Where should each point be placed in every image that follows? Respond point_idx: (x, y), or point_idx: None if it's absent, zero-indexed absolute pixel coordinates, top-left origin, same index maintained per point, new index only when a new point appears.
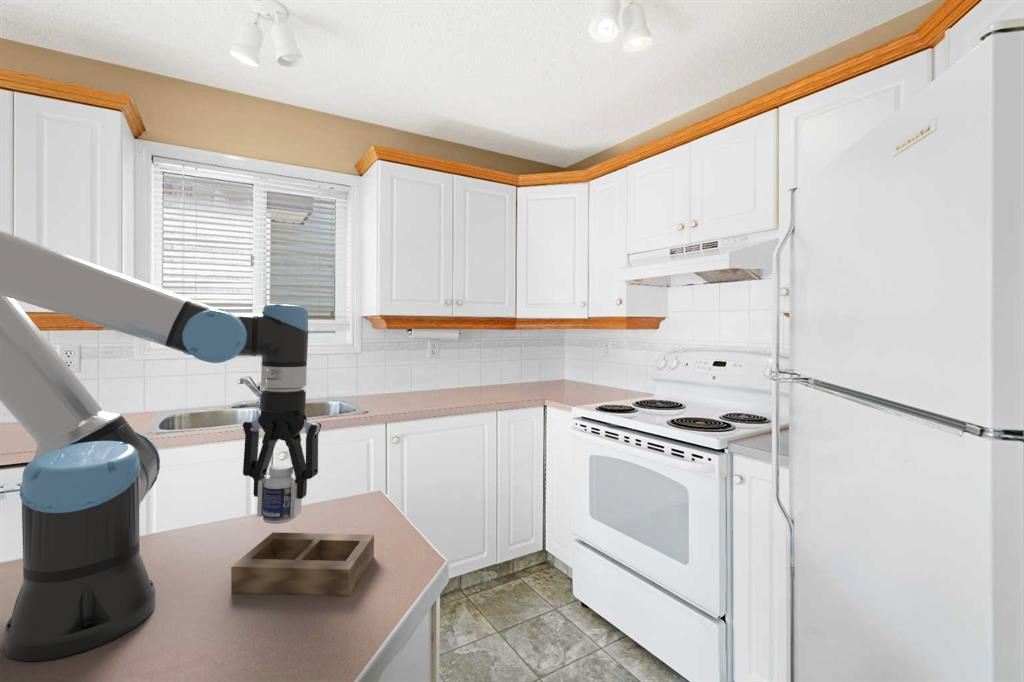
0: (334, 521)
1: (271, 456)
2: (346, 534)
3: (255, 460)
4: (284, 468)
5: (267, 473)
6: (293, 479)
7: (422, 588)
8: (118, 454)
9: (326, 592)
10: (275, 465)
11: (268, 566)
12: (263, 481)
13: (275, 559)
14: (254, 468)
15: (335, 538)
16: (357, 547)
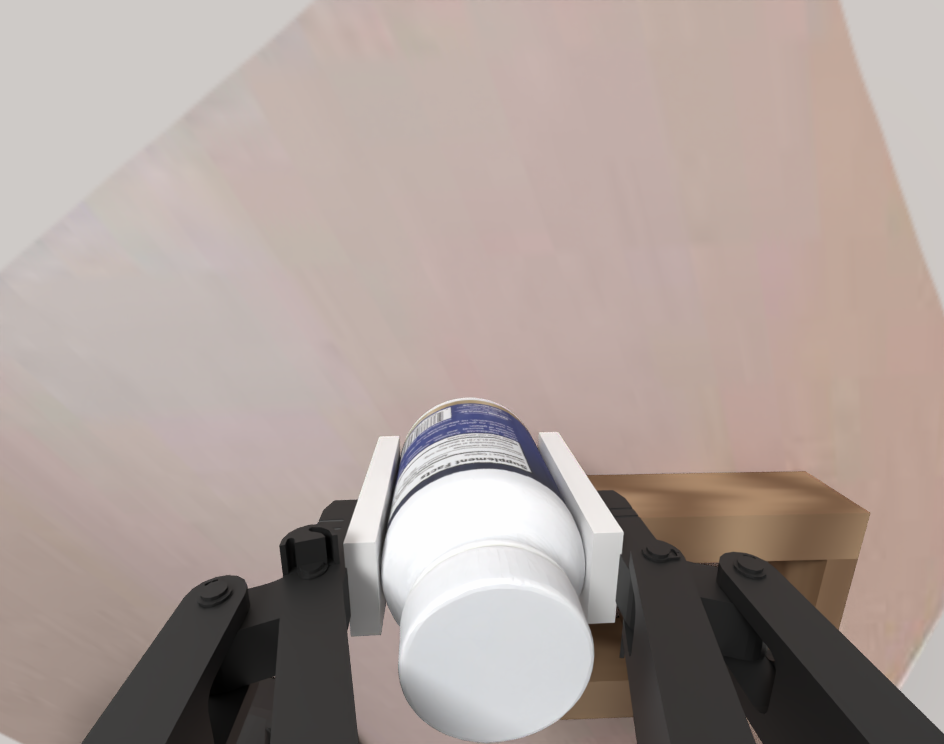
0: (594, 180)
1: (353, 699)
2: (768, 518)
3: (205, 694)
4: (552, 707)
5: (336, 535)
6: (578, 577)
7: (940, 607)
8: None
9: None
10: (430, 653)
11: (587, 715)
12: (381, 615)
13: (588, 682)
14: (247, 646)
15: (735, 549)
16: (822, 601)
